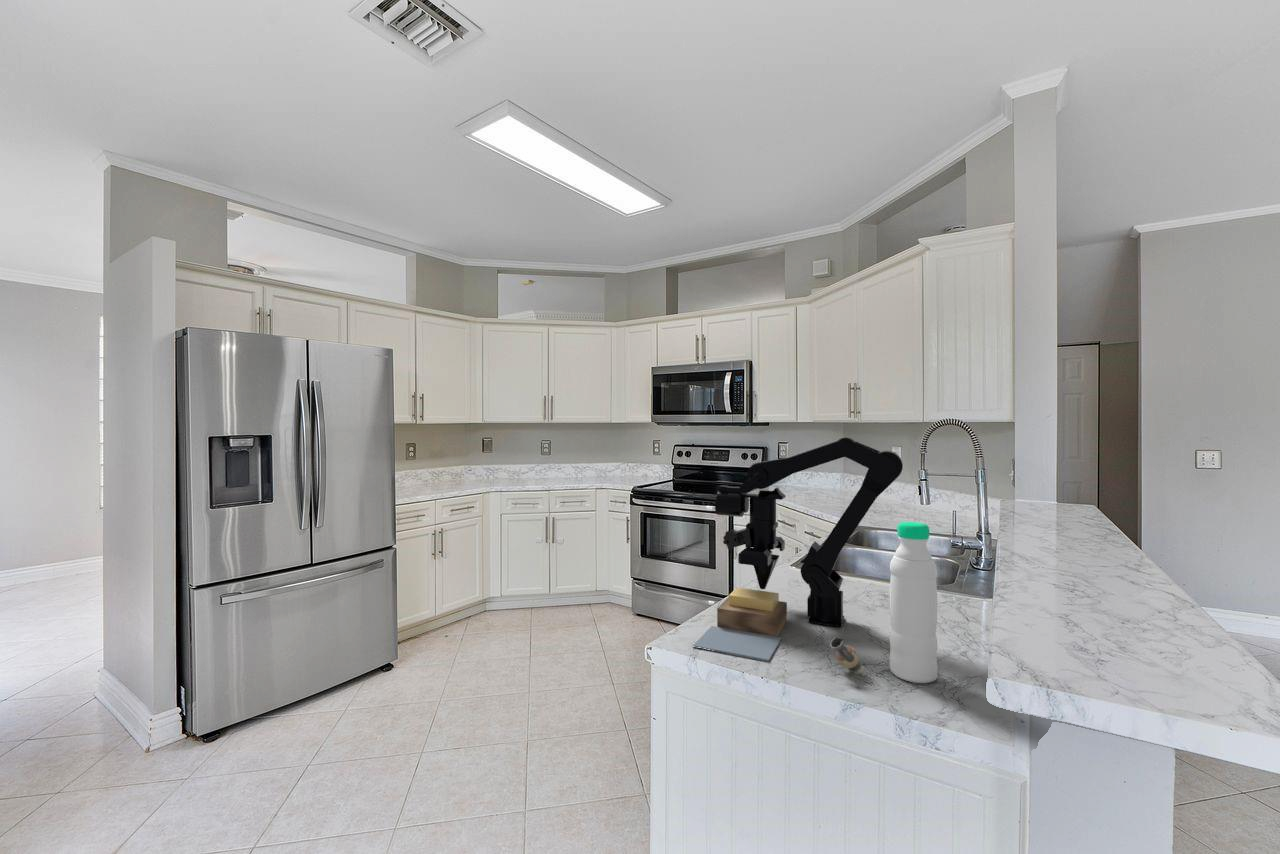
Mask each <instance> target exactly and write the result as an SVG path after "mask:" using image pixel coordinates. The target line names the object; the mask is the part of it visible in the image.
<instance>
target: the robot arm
mask: <svg viewBox="0 0 1280 854" xmlns="http://www.w3.org/2000/svg"><path fill="white" fill-rule="evenodd" d="M842 458H847V459H849V460H851V461H853V462H855V463H856V464H859V465H861V466H863V467H865V468H867V471H866V474H865V475H864V478H863V481H862V484H861V485H860V488H859V489H858V491H857V492H856V494H855V495H854V497H853V499H852V500H851V502H850V503H849V505H848V506H847V507H846V509H845V510H844V512H843V513H842V515H841V516H840V518H839V519H838V521H837V523H836V524H835V526H834V527H833V528H832V530H831V532H830V533H829V535H828V536H827V537H826V539H825V540H823V542H822V543H820V544H819V543H817V541H814V542H813V543H812V544H811V545H810V547H809V550H808V552H807V553H806V554H805V555H804V557H803V558H802V559H801V560H800V563H801V564H802V566H801V567H800V571H799V572H800V574H801V578H802V580H803V581H804V583H806V584H807V585H808V587H809V590H810V591H809V595H808V597H807V613H806V614H807V616H806V617H807V618H808V623H811V624H816V625H822V626H830V627H835V628H837V627H838V628H842V626H843V623H844V619H845V616H844V590H841V586H842V584H843V582H844V578H843V576H841V575H840V574H839V573H838V571H837V570H835V565H836V564H837V563H836V562H837V561H838V558H839V555H840V554H841V551H842V549H843V548H844V547H845V546H846V544H847V542H848V541H849V540H850V538H851V537H852V535H853V533H854V532H855V530H856V529H857V528H858V527H859V525H860V523H861V521H862V520H863V518H864V517H865V516H866V514H867V512H869V509H870V508H871V506H873V504H874V502H875V500H877V498H878V497H879V496H880V495H881V494H882V493H883V492H884V491H885V490H887V488H888V487H889V486H891V485H892V484H893V483H894V482H895V481H896V480H897V478H898V477H899V476H900V475H901V474H902V473H903V472H902V471H903V469H904V468H903V466H904V465H903V460H902V458H901V457H900V455H899V454H897V453H896V452H895V451H892V450H882V451H880V450H878V449H875V448H874V447H871V446H868V445H866V444H862V443H861V442H858V441H856V440H855V439H853V438H852V437H847V436H846V437H841V438H839V439H838V440H836V441H833V442H830V443H828V444H823V445H822V446H818V447H815V448H812V449H809V450H807V451H804V452H801V453H798V454H795V455H792V456H789V457H783V458H776V459H772V460H771V459H769V460H764V461H760V462H755V463H753V464H752V465H750V466H749V468H748V470H747V474H746V476H747V477H746V479H745V480H744V481H743V483H742V484H741V486H728V485H723V484H722V485H719V486H718V489H717V493H716V495H715V496H716V498H715V501H714V510H715V513H716V516H726V517H741V518H742V517H743V516H744V515H745V513H748V512H749V522H747V524H746V525H745V528H743V529H738V530H735V529H731V530H727V531H726V532H725V533H724V536H723V537H722V538H723V544H724V545H725V546H726V547H727V550H728V551H729V550H733V549H734V548H736V547H741V546H744V545H745V548H744V549H742V550H741V551H740V552H739V553H738V555H737V556H738V557H737V558H738V561H737V562H738V564H740V565H748V566H753V568H754V571H755V575H756V578H757V582H758V586H759V589H760V590H765V589H766V588H767V586H768V583H769V581H770V579H771V576H772V574H773V572H774V569H775V567H776V564H777V562H778V560H779V558H780V555H778V554H773V553H774V552H773V551H772V550H775V549H778V550H779V552H784V550H785V546H786V545H785V542H786V541H785V540H784V539H783V537H781V536H777V528H778V527H779V522H778V521H777V500H780V501H781V500H784V499H785V498H786V495H785V494H784V493H783V492H782V491H781V490H780V488H779V486H778V487H775V488H774V489H773V490H764V489H766V488H768V487H771V486H773V485H775V484H777V483H778V482H780V481H782V480H784V479H786V478H788V477H790V476H791V475H793V474H796V473H799V472H802V471H806V470H808V469H811V468H814V467H817V466H821V465H823V464H827V463H829V462H832V461H836V460H839V459H842ZM757 489H758V490H759V492H758V493H750V492H753V491H756V490H757Z"/></svg>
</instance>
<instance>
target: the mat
mask: <svg viewBox="0 0 1280 854" xmlns="http://www.w3.org/2000/svg"><path fill="white" fill-rule="evenodd" d="M781 641H782V637H780V636H778V637H775V636H769V635H763V634H757V633H751V632H745V631H739V630H733V629H727V628H721V627H717V625H715V626H714V625H711V626H710V627H709V628H708V629H707V630H706V631H705V632H704V634H703V635H701V636H700V638H699V639H697V641H696V642H695V643H693V645H692V647H693V646H695V647H701V648H706V649H710V650H714V651H718V652H717V653H719V652H722V653H721V654H724V653H726V654H725V655H730V656H735V657H740V658H747V659H751V660H757V661H762V662H767V663H769V662H770V661H771V659H772V657H773V656H774V654H775V651H776V650H777V648H778V646H779V645H780V643H781ZM714 651H713V652H714Z"/></svg>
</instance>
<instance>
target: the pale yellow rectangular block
mask: <svg viewBox="0 0 1280 854" xmlns="http://www.w3.org/2000/svg"><path fill="white" fill-rule="evenodd" d="M728 597H729V605H733V606H740V607H746V608H753V609H760V610H767V611H773V610H774V608H775V607H776V606H777V604H778V603H779V601H780V600H779V599H780V598H779V597H780V596H779V592H774V591H765V590H758V589H751V588H741V587H736V588H735V589H733V591H732V592H731V593H729V594H728Z"/></svg>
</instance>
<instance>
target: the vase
mask: <svg viewBox="0 0 1280 854" xmlns="http://www.w3.org/2000/svg"><path fill="white" fill-rule="evenodd" d="M827 645H828V644H827ZM829 647H830V648H831V649H832V650H834V651H836V652H835V658H836V660H837V662H838V663H839V664H840V665H841V666H842V667H844V668H846V669H848V671H849V672H851V673H853V674H856V675H859V674H861V675H859V678H863V679H864V678H867V676H868V677H869V678H871V674H870V672H869V671H867V669H865V668H864V667H863V665H862V663H861V662H860V660H859V654H858V652H857V651H856V649H855V648H854V647H852V646H851V645H848V644H845V642H844V640H843V639H842V638H841V637H834V638H832V640H831V641H830V643H829Z"/></svg>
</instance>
